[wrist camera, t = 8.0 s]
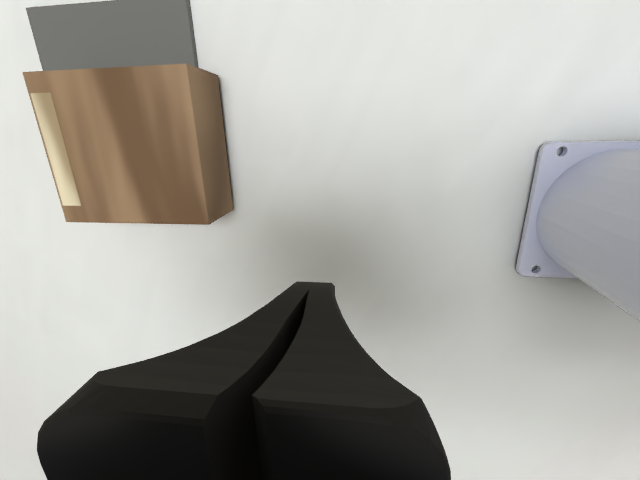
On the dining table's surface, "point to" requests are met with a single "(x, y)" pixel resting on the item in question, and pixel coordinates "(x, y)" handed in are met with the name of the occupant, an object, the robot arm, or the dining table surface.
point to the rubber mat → (113, 34)
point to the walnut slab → (134, 143)
